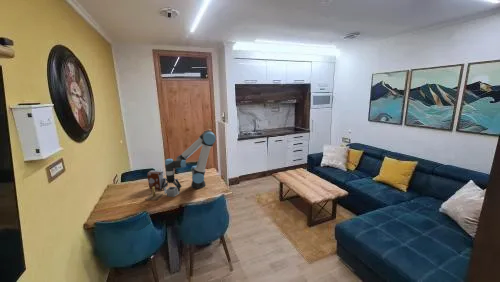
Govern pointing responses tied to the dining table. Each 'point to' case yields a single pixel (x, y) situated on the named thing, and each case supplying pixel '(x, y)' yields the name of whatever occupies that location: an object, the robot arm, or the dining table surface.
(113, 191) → the dining table surface
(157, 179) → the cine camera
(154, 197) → the peg on base
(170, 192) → the hollow square steel tube
